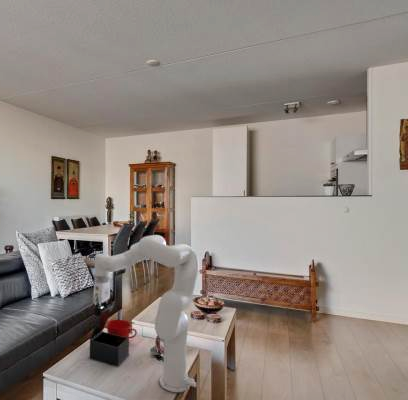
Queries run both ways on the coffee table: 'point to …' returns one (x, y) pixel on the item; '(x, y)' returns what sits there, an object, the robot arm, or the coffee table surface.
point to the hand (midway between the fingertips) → (100, 313)
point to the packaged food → (154, 351)
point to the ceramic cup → (120, 328)
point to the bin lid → (101, 320)
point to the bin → (109, 348)
